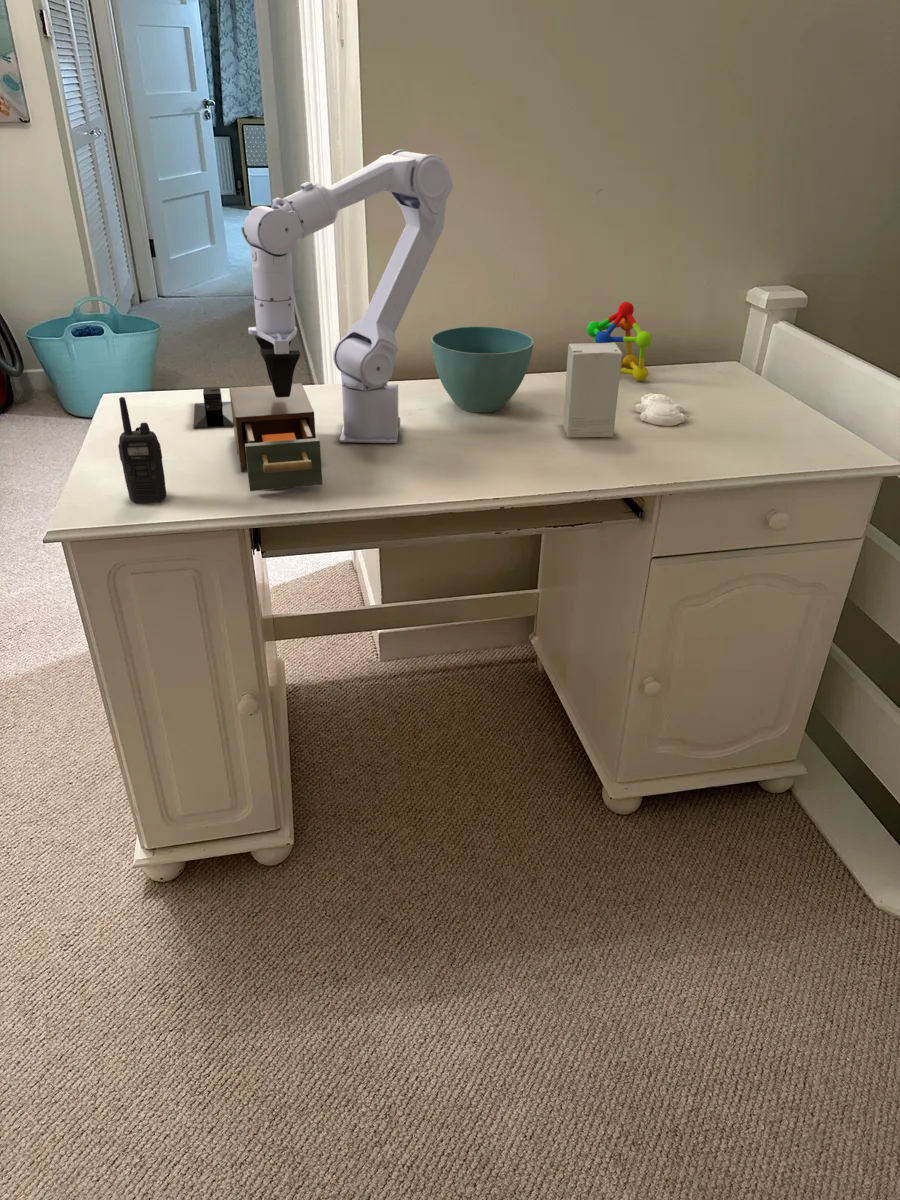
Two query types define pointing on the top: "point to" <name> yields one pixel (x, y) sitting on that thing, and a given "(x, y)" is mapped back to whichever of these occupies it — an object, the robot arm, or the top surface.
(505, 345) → the plant pot
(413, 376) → the top surface
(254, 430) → the drawer
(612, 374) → the cosmetic box
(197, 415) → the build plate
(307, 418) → the cabinet
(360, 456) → the top surface
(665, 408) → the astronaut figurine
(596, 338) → the educational toy
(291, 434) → the block
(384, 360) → the robot arm
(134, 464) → the two-way radio
